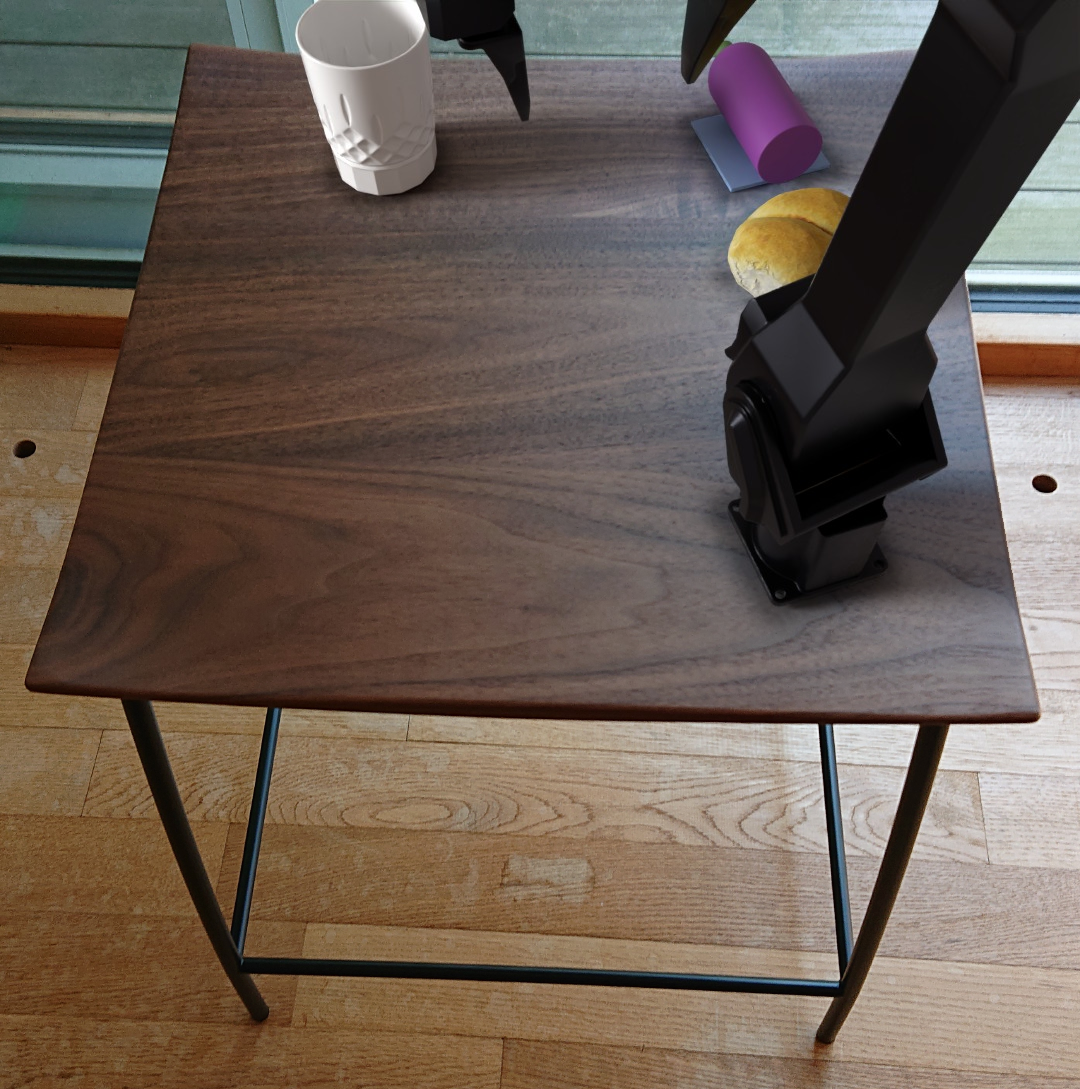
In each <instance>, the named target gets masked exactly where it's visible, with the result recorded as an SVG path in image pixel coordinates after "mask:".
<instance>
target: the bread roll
mask: <svg viewBox="0 0 1080 1089" xmlns="http://www.w3.org/2000/svg"><path fill="white" fill-rule="evenodd" d="M850 197H851V196H848V195H847V194H845V193H843V192H841V191H838V190H835V189H832V188H827V187H806V188H799V189H795V190H790V191H786V192H782V193H780V194H777V195H776V196H773V197H772V198H770V199H768V200H766V201H765V202H764V203H763V204H761V205H760V206H759V207H758V208H756V210H754V212H753V213H752V214H750V215H749V216H748V217H747V219H746V220H745V221H743V222H742V223H741V224H740V225H739V226H738V227H737V228H736V230H735V233H734V235H733V238H732V240H731V241H730V245H729V246H728V252H727V253H728V254H727V262H728V266H729V269H730V271H731V273H732V275H733V277H734V279H735V281H736V283H737V285H739V286H740V287H741V288H743V290H745V291H747V292H748V293H750V295H752V296H753V298H755V297H757V296H760V295H762V294H765V293H767V292H769V291H772V290H774V289H777V288H779V287H782V286H784V285H787V284H789V283H791V282H794V281H796V280H799V279H801V278H804V277H806V276H808V275H811V274H813V273H816V272H817V269H818V267H819V265H820V263H821V261H822V258H823V256H824V254H825V252H826V250H827V248H828V245H829V243H830V241H831V239H832V237H833V234H834V232H835V230H836V228H837V226H838V223H839V221H840V219H841V217H842V215H843V212H844V210H845V208H846V206H847V204H848V201H849V199H850Z"/></svg>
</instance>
